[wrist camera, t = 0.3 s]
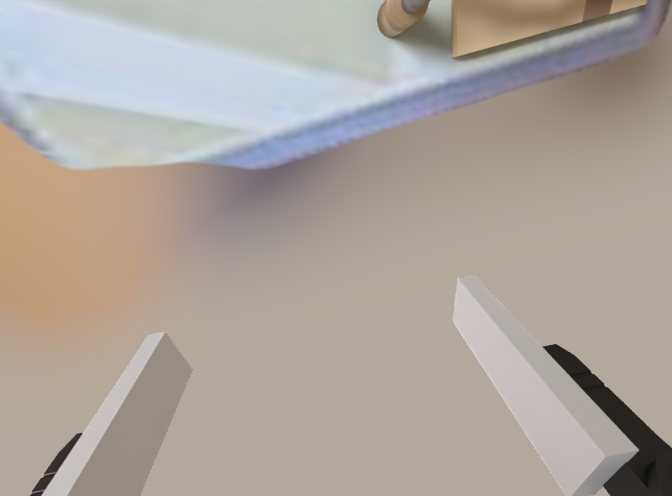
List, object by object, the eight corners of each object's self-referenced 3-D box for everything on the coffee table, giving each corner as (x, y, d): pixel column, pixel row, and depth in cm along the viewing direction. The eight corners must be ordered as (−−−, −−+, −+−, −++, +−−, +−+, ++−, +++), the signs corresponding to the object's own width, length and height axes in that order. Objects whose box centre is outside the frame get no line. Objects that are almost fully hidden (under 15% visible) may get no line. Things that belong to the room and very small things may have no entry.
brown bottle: (375, 3, 27) (402, -35, 19) (405, -6, 27) (444, -48, 19) (379, 41, 29) (406, 20, 21) (407, 33, 29) (445, 9, 21)
